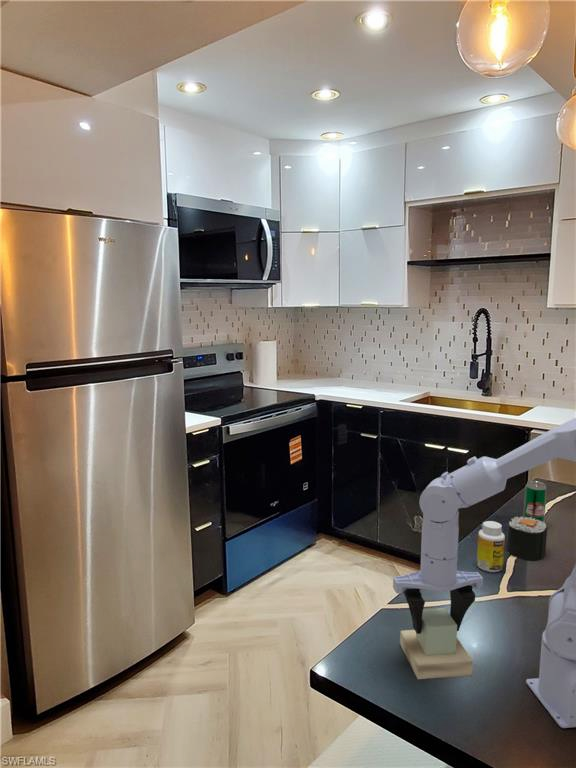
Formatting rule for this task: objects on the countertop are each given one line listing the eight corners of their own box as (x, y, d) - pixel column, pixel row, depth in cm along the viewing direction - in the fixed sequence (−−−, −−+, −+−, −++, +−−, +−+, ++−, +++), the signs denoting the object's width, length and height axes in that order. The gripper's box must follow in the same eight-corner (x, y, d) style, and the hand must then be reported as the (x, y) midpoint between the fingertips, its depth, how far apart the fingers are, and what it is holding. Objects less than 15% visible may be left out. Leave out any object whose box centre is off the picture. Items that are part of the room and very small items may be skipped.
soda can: (524, 529, 141) (527, 485, 139) (521, 521, 146) (524, 479, 144) (545, 531, 140) (548, 487, 138) (542, 523, 145) (545, 481, 143)
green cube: (455, 653, 88) (457, 625, 87) (426, 655, 87) (427, 627, 86) (443, 634, 92) (445, 607, 92) (415, 636, 92) (416, 609, 91)
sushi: (548, 551, 129) (551, 519, 127) (538, 564, 122) (541, 531, 121) (513, 541, 134) (515, 511, 133) (502, 553, 127) (504, 521, 126)
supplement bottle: (492, 576, 117) (495, 531, 116) (471, 565, 122) (473, 522, 120) (508, 569, 120) (510, 525, 119) (486, 559, 125) (489, 517, 123)
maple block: (471, 678, 86) (472, 661, 86) (417, 682, 85) (418, 665, 85) (449, 643, 95) (450, 627, 95) (399, 646, 94) (400, 630, 94)
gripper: (471, 539, 92) (467, 612, 94) (388, 543, 90) (386, 617, 92) (490, 558, 85) (486, 637, 87) (401, 563, 83) (399, 643, 85)
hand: (435, 628), depth 89 cm, fingers open, 6 cm apart
